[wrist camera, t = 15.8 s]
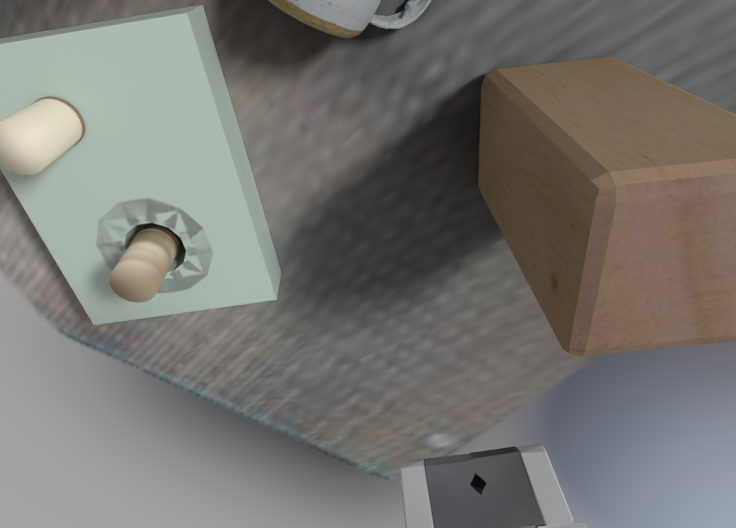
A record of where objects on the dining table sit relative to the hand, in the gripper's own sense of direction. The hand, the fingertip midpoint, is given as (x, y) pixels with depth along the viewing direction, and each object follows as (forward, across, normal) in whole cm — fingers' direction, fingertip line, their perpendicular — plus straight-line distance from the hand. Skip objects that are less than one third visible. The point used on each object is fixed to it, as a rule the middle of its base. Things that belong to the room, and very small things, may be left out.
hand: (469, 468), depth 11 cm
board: (+31, +19, +4) cm, 37 cm away
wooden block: (+31, -12, +5) cm, 34 cm away
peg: (+31, +19, +8) cm, 37 cm away
